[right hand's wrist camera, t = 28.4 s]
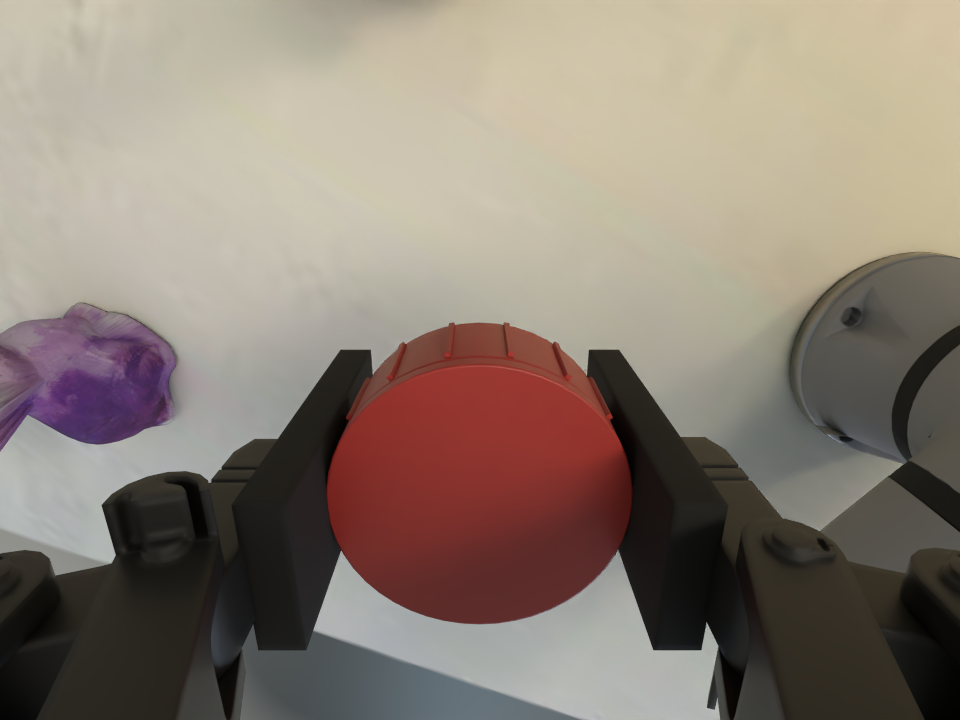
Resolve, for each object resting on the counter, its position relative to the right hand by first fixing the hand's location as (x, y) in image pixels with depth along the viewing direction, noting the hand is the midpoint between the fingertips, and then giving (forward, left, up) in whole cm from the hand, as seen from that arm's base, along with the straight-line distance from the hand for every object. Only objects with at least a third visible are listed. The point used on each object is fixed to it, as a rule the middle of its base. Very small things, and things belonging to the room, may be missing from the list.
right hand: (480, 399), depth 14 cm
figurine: (+29, +3, -27) cm, 40 cm away
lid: (0, 0, +4) cm, 4 cm away
